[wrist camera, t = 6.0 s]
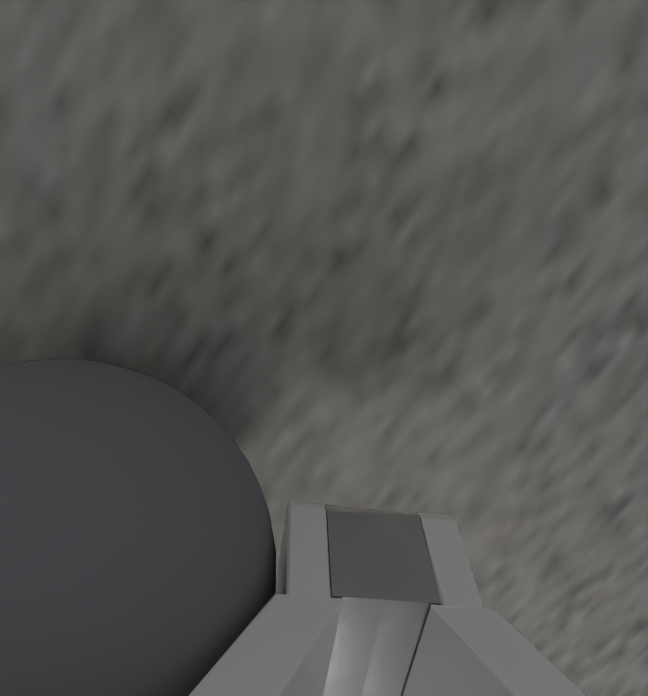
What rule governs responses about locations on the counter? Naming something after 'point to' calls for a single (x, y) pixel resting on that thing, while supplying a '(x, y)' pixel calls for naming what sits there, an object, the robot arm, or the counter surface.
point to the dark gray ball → (121, 534)
